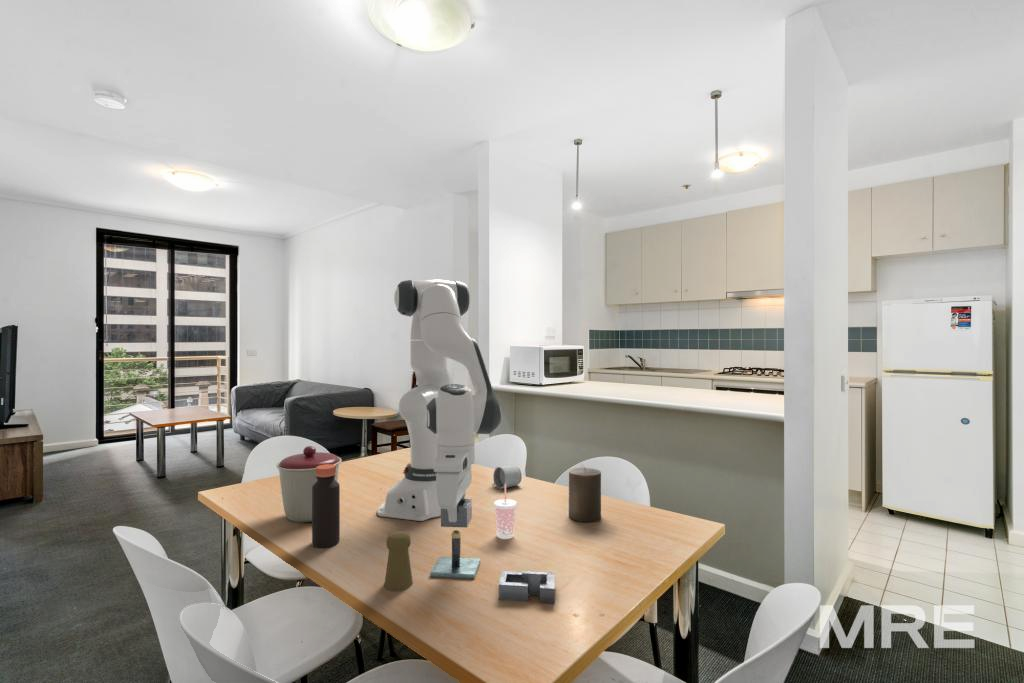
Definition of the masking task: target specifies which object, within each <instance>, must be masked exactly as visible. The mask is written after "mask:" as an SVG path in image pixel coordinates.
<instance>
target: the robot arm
mask: <svg viewBox="0 0 1024 683" xmlns="http://www.w3.org/2000/svg"><path fill="white" fill-rule="evenodd" d="M393 299H394V304H395V307H396V310H397V312H398V313H399V314H400V315H402V316H406V317H412V319H411V326H410V327H411V328H410V367H411V369H412V370H413V371H414V374H415V375H414V376H415V378H416V382H417V386H416V387H413V388H411V389H410V390H408V391H406V392H405V393H404V394H403V395H402V396H401V398H400V400H399V403H398V411H399V414H400V416H401V418H402V419H403V420H404V421H405V424H406V427H407V428H406V429H407V431H408V436H409V443H410V462H409V463H408V464H406V466H405V467H404V469H403V470H402V471H403V472H402V473H403V475H404V477H402V479H400V480H398V482H396V483H395V484H394V485H393V486H391V487H390V488H389V489H388V491H387V493H386V496H385V501H384V502H383V503H382V504H381V505H380V506H379V507H378V508H377V516H379V517H385V518H393V519H400V520H409V521H418V522H419V521H420V522H422V521H426V520H428V519H431V518H432V519H433V518H438V517H441V508H442V509H447V511H448V514H449V522H456V521H457V519H458V512H457V504H458V503H459V501H460V499H466V493H467V490H468V489H469V487H470V485H471V484H472V475H473V474H472V465H474V464H475V463H476V440H475V436H474V434H476V435H490V434H491V433H493V432H494V431H495V430H496V429H497V428H498V426H499V425H500V424H501V421H502V411H501V407H500V403H499V401H498V399H497V396H496V394H495V392H494V390H493V387H492V382H491V380H490V377H489V373H488V369H487V366H486V364H485V361H484V359H483V355H482V352H481V349H480V347H479V344H478V342H477V341H476V339H475V338H473V337H471V336H470V335H468V332H466V330H465V328H464V327H463V323H462V318H461V317H462V316H463V315H465V314H466V313H467V312H468V311H469V307H470V305H471V294H470V289H469V287H468V286H467V284H466V283H465V282H461V281H459V280H454V281H451V280H445V279H434V278H433V279H417V280H412V279H409V280H408V279H407V280H402V281H400V282H399V283H398V284H397V287H396V290H395V292H394V295H393ZM448 359H451V360H453V361H455V362H458V363H459V364H461V365H463V366H464V367H465V368H466V369H467V371H468V374H469V378H470V381H471V385H472V387H473V390H474V394H473V393H472V390H471V387H469V386H467V385H464V384H459V383H451V381H450V376H449V370H448V361H447V360H448Z"/></svg>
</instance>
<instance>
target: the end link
mask: <svg viewBox="0 0 1024 683" xmlns="http://www.w3.org/2000/svg"><path fill="white" fill-rule="evenodd" d="M472 500H473V499H472V498H465V499H460V501H459V503H458V504H457V512H458V519H457V521H456V522H449V514H448V511H447V509H442V508H441V516H440V527H441V528H468V526H469V525H470V523H471V521H472V519H473V508H472V506H473V502H472Z"/></svg>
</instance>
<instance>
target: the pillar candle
mask: <svg viewBox="0 0 1024 683" xmlns="http://www.w3.org/2000/svg"><path fill="white" fill-rule="evenodd" d="M568 517H569V518H570V519H571V520H573V521H576V522H582V523H594V522H598V521H600V520H601V518H602V472H601V471H600V470H599V469H596V468H591V467H590V468H589V467H576V468H571V469H568Z"/></svg>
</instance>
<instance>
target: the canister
mask: <svg viewBox="0 0 1024 683" xmlns="http://www.w3.org/2000/svg"><path fill="white" fill-rule="evenodd" d="M341 463H342V458H341V457H339V456H338V455H336V454H334V453H330V452H320V451H319V452H317V448H316V447H315V446H312V445H308V446H306V447H304V448H303V451H302V453H298V454H294V455H290V456H287V457H285V458H283V459H282V460H280V461H279V462H277V464H276V468H277V469H278V472H279V480H280V481H279V482H280V489H281V490H280V491H281V498H282V505H283V510H284V514H285V516H286V519H288V520H289V521H291V522H295V523H310V522H311V523H312V486H313V485H314V484H315V483H316V482H317V478H316V467H317V466H320V465H326V464H332V465H335V466H336V474H335V475H336V476H335V480H336V481H337V482H338V479H339V470H340V464H341Z"/></svg>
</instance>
